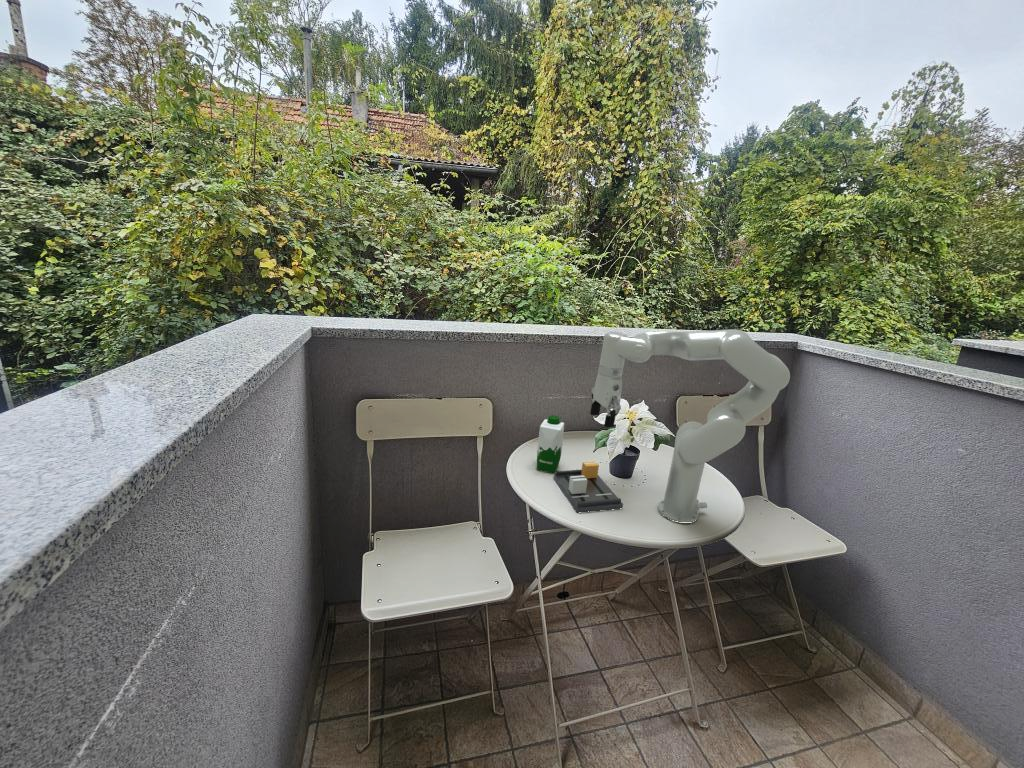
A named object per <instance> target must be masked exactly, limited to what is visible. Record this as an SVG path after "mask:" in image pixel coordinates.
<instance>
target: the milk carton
mask: <svg viewBox="0 0 1024 768" xmlns="http://www.w3.org/2000/svg"><path fill="white" fill-rule="evenodd" d="M564 431H565V422H564V421H563V422H562V421H560V417H559V416H557V415H553V414H551V415H549V416H548V419H546V418H545V419H544V420H543V421H542V423H541V424H540V426H539V430H538V433H539V434H538V440H537V450H536V451H537V452H536V470H537V471H541V472H543V473H544V472H545V473H549V474H553V475H554V474H556V471H558V467H559V465H560V463H561V462H560V461H561V456H562V450H563V442H564Z"/></svg>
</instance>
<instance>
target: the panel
mask: <svg viewBox="0 0 1024 768" xmlns="http://www.w3.org/2000/svg"><path fill="white" fill-rule="evenodd" d="M581 471H582V469H569V470H556V472H555V474H554V473H553V480H554V482H556V484H557V485H558V487H559V489H560V490H561V492H562V494H563V495H564V496H565V498H566V500H568V502H569V503H571V504H570V505H571V506H573V507H572V508H573V510H574V511H575V510H576V511H575V512H576V513H577V514H580V513H579V512H586V513H591V512H590V511H596V512H601V511H600V510H606V511H613V510H612V509H617V510H621V509H620V508H622V509H623V506H624V503H623V502H622V498H620V497H618V496H617V495H616V494H615V493H614V492H613V490H612V489H611V488H610V487H609V486H608V484H607V483H606V482H605V481H604V480H603V478H601V477H600V476H599V475H597V478H588V479H587V487H586V493H580V494H571V492H570V491H569V482H570V476H582V475H581ZM588 511H589V512H588Z"/></svg>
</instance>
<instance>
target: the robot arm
mask: <svg viewBox="0 0 1024 768" xmlns="http://www.w3.org/2000/svg"><path fill="white" fill-rule="evenodd" d="M651 356H674V357H678V358H680V359H683V360H687V361H708V360H709V361H711V360H713V361H714V360H724V361H725V362H727V363H728V364H729V365H730V366H731V367H732V369H734V370H735V371H737V373H739V374H740V375H742V376H743V377H745V378H746V379H747V380H748V382H747V383H746V384H745V386H743V387H742V388H741V389H740V390H739V391H737V392H736V393H734V394H733V395H731V396H730V397H728V398H726V399H725V400H724V401H722V402H720V403H718V404H717V405H716V406H714V407H712V408H711V409H710V410H709V411H708V413H707V417H706V419H707V420H706V421H707V422H706V423H705V424H703V423H701V422H698V421H687V422H685V423H683V424H681V425H680V427H679V428H678V429H677V432H676V436H675V440H674V448H673V454H672V458H671V459H672V460H671V463H670V469H669V474H668V478H667V483H666V488H665V493H664V499H663V500H661V501H659V502H658V504H657V511H658V510H659V511H658V513H659V512H660V513H661V514H662V515H664V516H665V517H667V518H669V519H671V520H674V521H678V522H693V521H695V520H698V519H697V518H699V513H698V511H699V509H707V508H708V504H707V502H706V501H702V502H701V501H699V499H698V495H699V490H700V486H701V481H702V476H703V473H704V469H705V463H708V462H709V461H711V460H714V459H715V458H717V457H718V456H720V455H722V454H724V453H726V451H728V450H730V449H731V448H733V447H735V446H736V445H738V444H739V443H740V442H741V440H742V439H743V438H744V436H745V434H746V424H747V423H749V422H750V421H751V420H753V419H754V418H756V417H758V416H759V415H761V414H762V413H764V411H766V410H768V409H769V408H770V407H771V406H772V405H773V403H774V402H775V400H776V399H777V397H778V395H779V393H780V391H781V390H783V389H784V388H785V387H787V386H788V384H789V382H790V380H791V379H790V378H791V373H790V369H789V368H788V367H787V365H786V364H785V363H784V362H783V361H782V360H781V359H780V358H779V357H778V356H777V355H775V354H772V353H770V352H768V351H767V350H766V349H765V348H763V347H762V346H760V345H759V344H758V343H757V342H756V341H754V339H752V338H751V336H750V335H749V334H748V333H747V332H746V331H743V330H741V329H734V328H731V329H717V330H716V329H715V330H713V329H712V330H699V331H653V332H650V331H649V332H641V333H637V334H636V335H634V336H632V337H629V335H627V334H625V333H622V332H618V331H609V332H608V331H607V332H606V333H605V334H604V336H603V342H602V348H601V353H600V359H599V363H598V364H599V365H598V372H597V376H596V379H595V383H594V386H593V387H591V407H590V411H589V414H590V415H591V416H599V415H600V411H601V407H603V408H605V409H606V415H605V419H604V424H603V426H604V427H605V428H613V427H614V426H615V422H616V417H617V415H618V414H619V413H620V411H621V409H622V405H621V400H622V399H621V398H622V390H623V378H622V377H623V371H624V366H625V360H628V361H631V362H634V363H641V364H642V363H644V362H647V361H649V359H650V358H651ZM611 409H612V410H611ZM660 513H659V514H660ZM661 514H660V515H661ZM662 515H661V516H662ZM664 516H663V517H664ZM665 517H664V518H665ZM667 518H666V519H667ZM669 519H668V520H669ZM671 520H670V521H671ZM695 522H696V521H695Z"/></svg>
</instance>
